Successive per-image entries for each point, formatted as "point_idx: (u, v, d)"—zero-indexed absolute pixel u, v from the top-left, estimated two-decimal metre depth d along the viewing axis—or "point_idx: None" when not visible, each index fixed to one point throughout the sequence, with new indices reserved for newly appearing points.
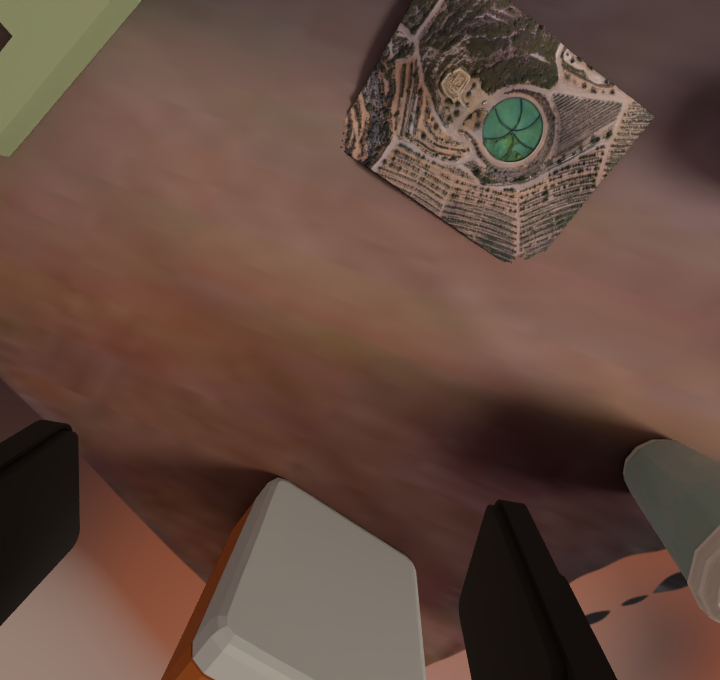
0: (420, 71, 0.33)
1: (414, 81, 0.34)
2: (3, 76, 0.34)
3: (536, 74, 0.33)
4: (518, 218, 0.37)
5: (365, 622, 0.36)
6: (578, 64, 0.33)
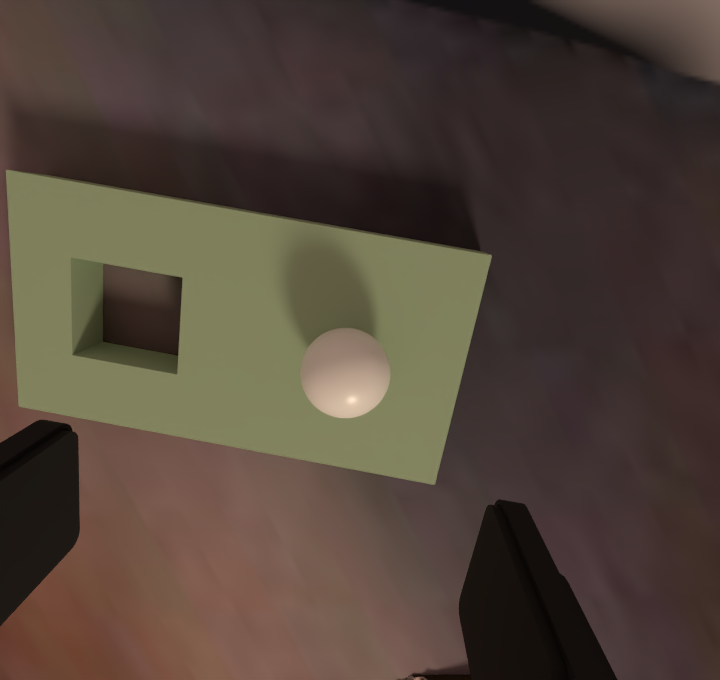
0: None
1: None
2: (124, 385, 0.23)
3: None
4: None
5: None
6: None
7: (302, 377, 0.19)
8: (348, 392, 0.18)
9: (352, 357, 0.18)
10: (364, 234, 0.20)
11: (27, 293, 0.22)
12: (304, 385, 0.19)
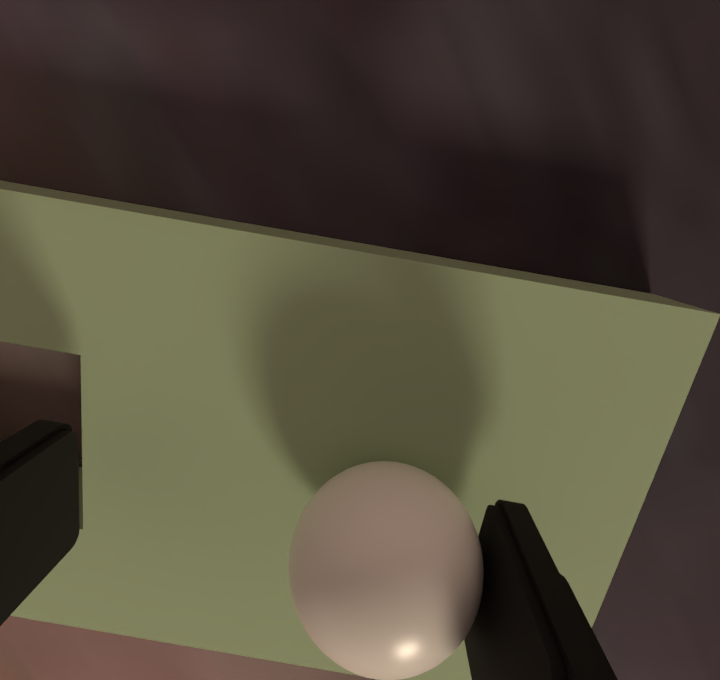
0: None
1: None
2: None
3: None
4: None
5: None
6: None
7: None
8: (364, 648, 0.07)
9: (382, 564, 0.07)
10: (455, 271, 0.09)
11: None
12: (289, 582, 0.09)
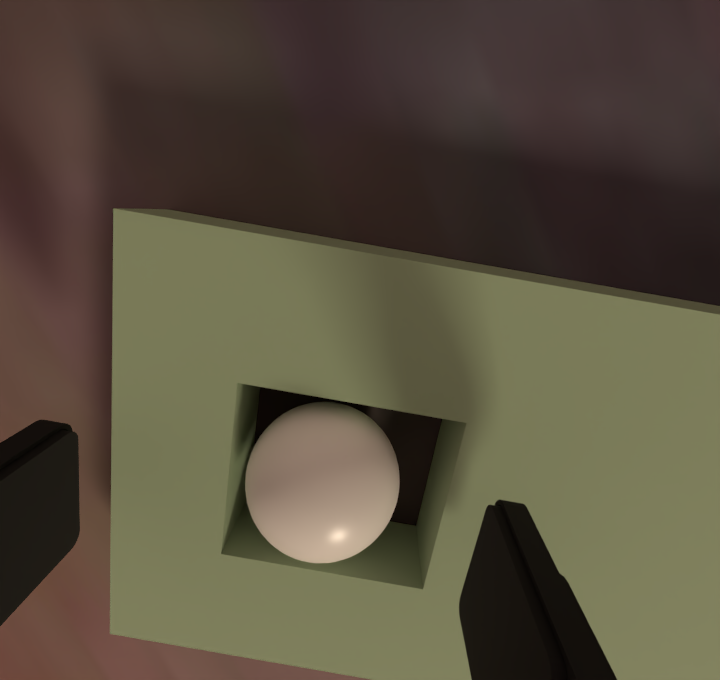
0: None
1: None
2: (316, 605, 0.12)
3: None
4: None
5: None
6: None
7: (273, 524, 0.10)
8: (373, 527, 0.10)
9: (369, 467, 0.10)
10: None
11: (141, 447, 0.11)
12: (280, 537, 0.10)
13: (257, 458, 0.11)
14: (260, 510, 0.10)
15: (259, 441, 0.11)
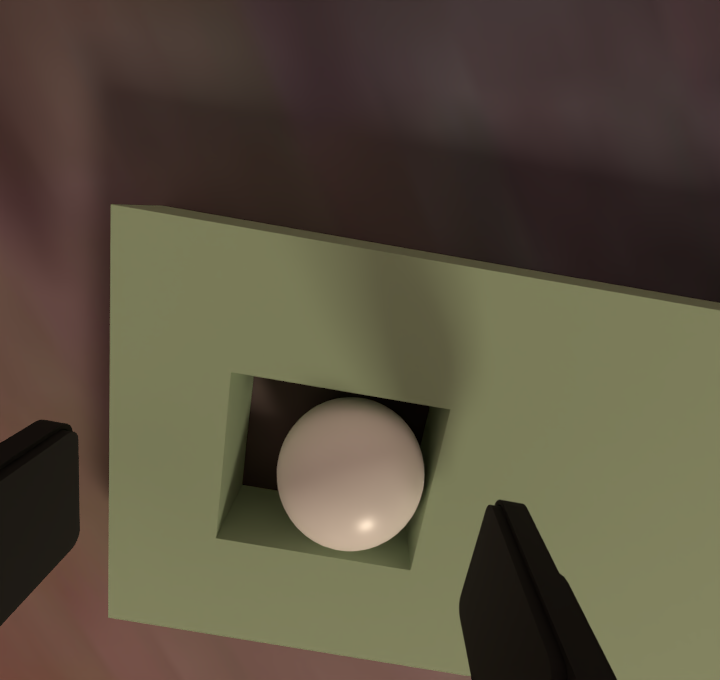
0: None
1: None
2: (308, 587, 0.13)
3: None
4: None
5: None
6: None
7: (347, 526, 0.10)
8: (420, 497, 0.12)
9: (413, 447, 0.11)
10: None
11: (138, 435, 0.11)
12: (355, 536, 0.10)
13: (311, 470, 0.10)
14: (329, 518, 0.10)
15: (300, 453, 0.11)
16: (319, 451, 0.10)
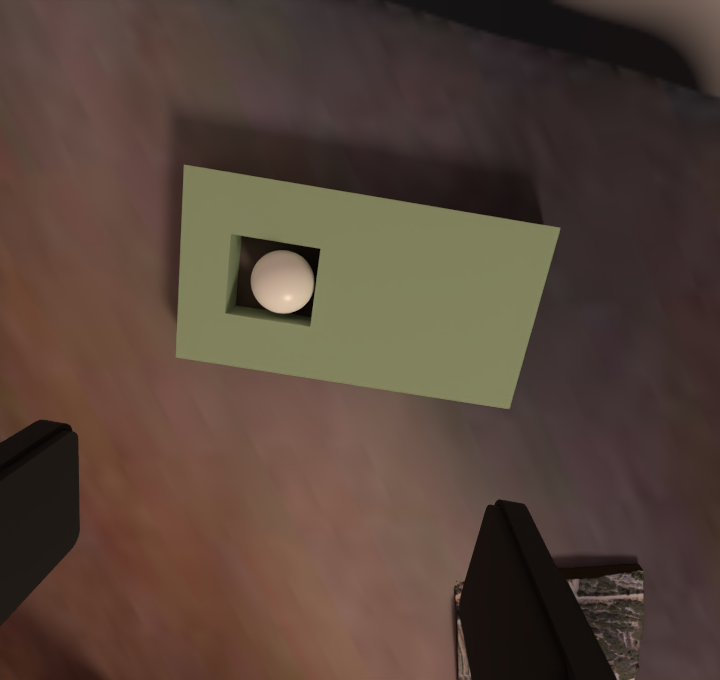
0: None
1: None
2: (266, 337, 0.29)
3: None
4: None
5: None
6: None
7: (278, 291, 0.26)
8: (311, 289, 0.28)
9: (307, 267, 0.27)
10: (465, 213, 0.26)
11: (192, 263, 0.27)
12: (281, 295, 0.26)
13: (263, 270, 0.26)
14: (270, 288, 0.26)
15: (259, 265, 0.27)
16: (266, 263, 0.26)
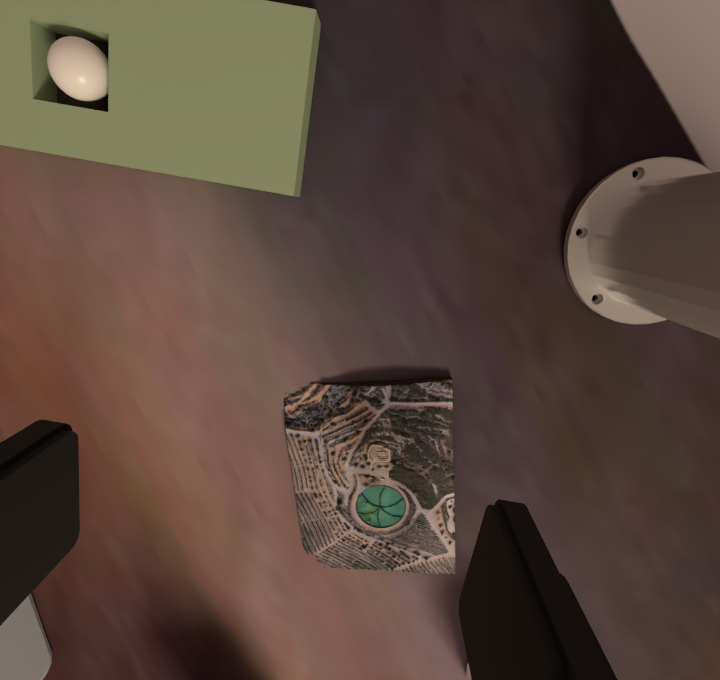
0: (370, 423, 0.38)
1: (361, 422, 0.39)
2: (71, 122, 0.32)
3: (424, 495, 0.40)
4: (336, 540, 0.43)
5: None
6: (450, 511, 0.41)
7: (61, 64, 0.30)
8: (100, 72, 0.31)
9: (96, 50, 0.31)
10: None
11: None
12: (65, 69, 0.30)
13: (51, 47, 0.30)
14: (55, 61, 0.30)
15: (51, 46, 0.30)
16: (55, 41, 0.30)
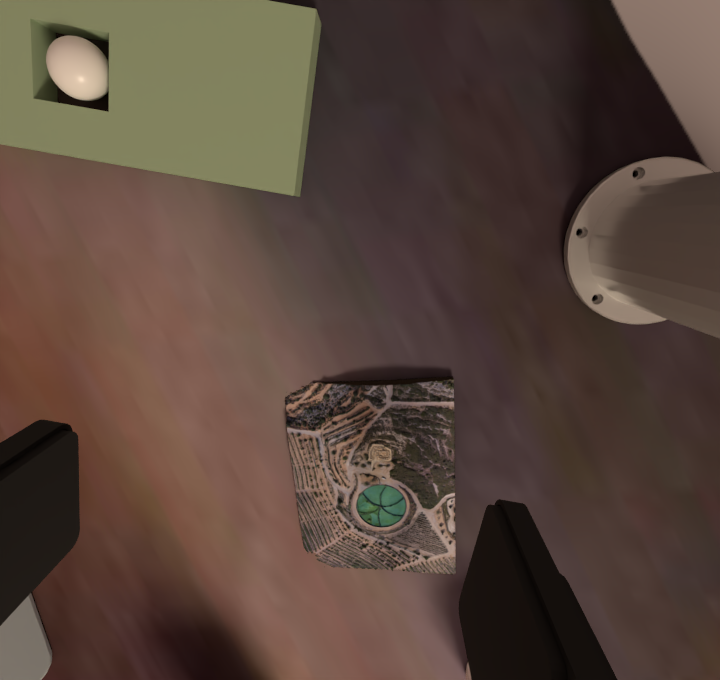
0: (371, 422, 0.38)
1: (362, 422, 0.39)
2: (71, 122, 0.32)
3: (424, 495, 0.40)
4: (337, 539, 0.43)
5: None
6: (451, 510, 0.41)
7: (58, 63, 0.30)
8: (98, 71, 0.31)
9: (93, 49, 0.30)
10: None
11: (0, 48, 0.31)
12: (62, 68, 0.30)
13: (49, 46, 0.30)
14: (53, 60, 0.30)
15: (50, 45, 0.30)
16: (53, 41, 0.30)
